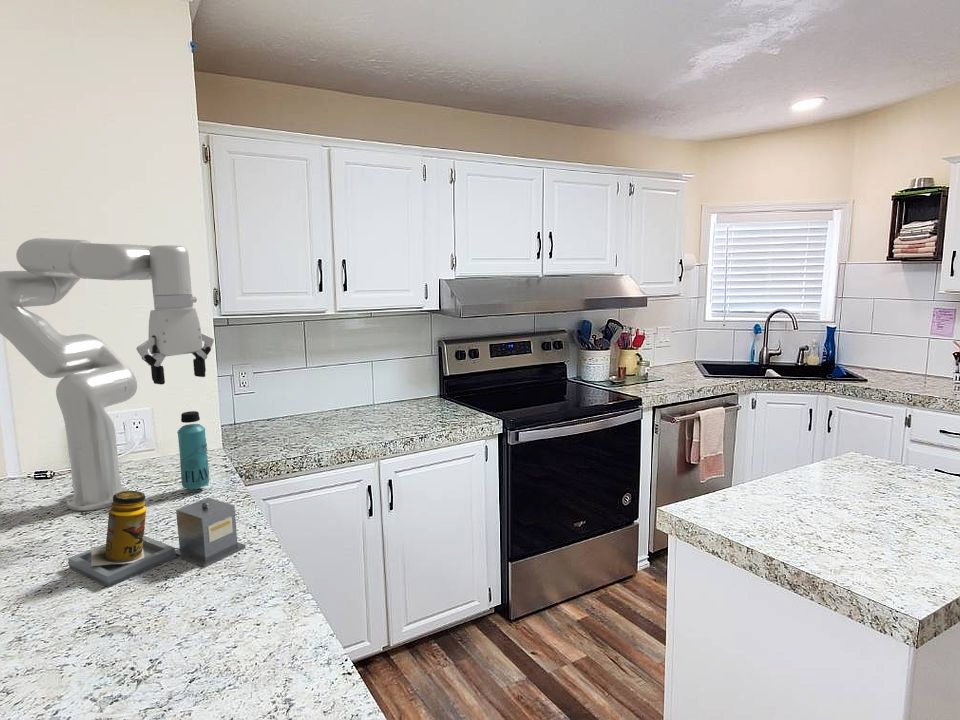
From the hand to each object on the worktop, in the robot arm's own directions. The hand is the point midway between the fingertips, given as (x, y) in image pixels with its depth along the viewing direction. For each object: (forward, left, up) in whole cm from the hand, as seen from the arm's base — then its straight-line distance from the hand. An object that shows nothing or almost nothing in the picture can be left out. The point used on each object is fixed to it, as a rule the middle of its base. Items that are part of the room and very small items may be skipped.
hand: (180, 380), depth 132 cm
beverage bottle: (-10, +8, -31) cm, 33 cm away
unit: (+22, -11, -30) cm, 39 cm away
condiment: (+12, -23, -29) cm, 39 cm away
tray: (+12, -22, -30) cm, 39 cm away
